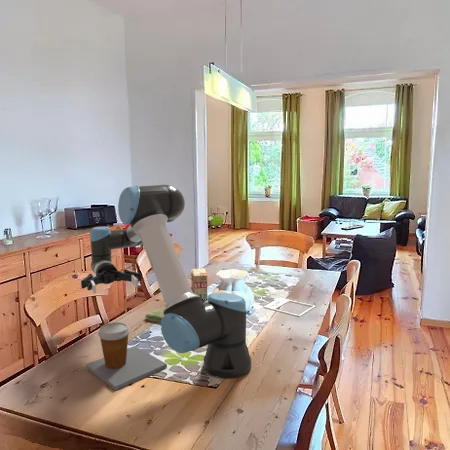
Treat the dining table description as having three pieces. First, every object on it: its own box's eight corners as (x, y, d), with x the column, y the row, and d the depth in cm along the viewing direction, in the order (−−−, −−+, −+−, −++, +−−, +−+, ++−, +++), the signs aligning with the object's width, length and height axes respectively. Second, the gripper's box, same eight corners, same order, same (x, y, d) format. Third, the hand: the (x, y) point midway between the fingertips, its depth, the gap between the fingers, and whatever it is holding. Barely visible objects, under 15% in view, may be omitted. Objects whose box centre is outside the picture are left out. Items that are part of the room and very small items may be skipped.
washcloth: (162, 310, 177) (161, 303, 177) (197, 317, 169) (196, 309, 169) (143, 321, 166) (143, 313, 165) (180, 328, 158) (180, 320, 157)
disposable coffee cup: (98, 373, 122) (96, 335, 120) (101, 358, 131) (99, 323, 129) (131, 369, 124) (129, 332, 122) (131, 355, 133) (129, 320, 131)
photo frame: (280, 297, 190) (315, 305, 179) (280, 299, 190) (315, 307, 179) (263, 306, 178) (299, 315, 167) (263, 308, 179) (299, 318, 168)
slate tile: (166, 367, 127) (166, 363, 127) (115, 390, 115) (115, 386, 114) (135, 349, 140) (135, 345, 140) (85, 367, 127) (85, 364, 127)
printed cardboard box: (191, 287, 209) (190, 263, 207) (203, 286, 210) (203, 263, 208) (194, 301, 188) (193, 275, 186) (207, 300, 189) (207, 274, 187)
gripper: (139, 277, 158) (153, 291, 139) (71, 286, 147) (76, 303, 128) (138, 258, 157) (152, 270, 138) (69, 266, 146) (75, 280, 127)
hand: (116, 286), depth 133 cm, fingers open, 13 cm apart
